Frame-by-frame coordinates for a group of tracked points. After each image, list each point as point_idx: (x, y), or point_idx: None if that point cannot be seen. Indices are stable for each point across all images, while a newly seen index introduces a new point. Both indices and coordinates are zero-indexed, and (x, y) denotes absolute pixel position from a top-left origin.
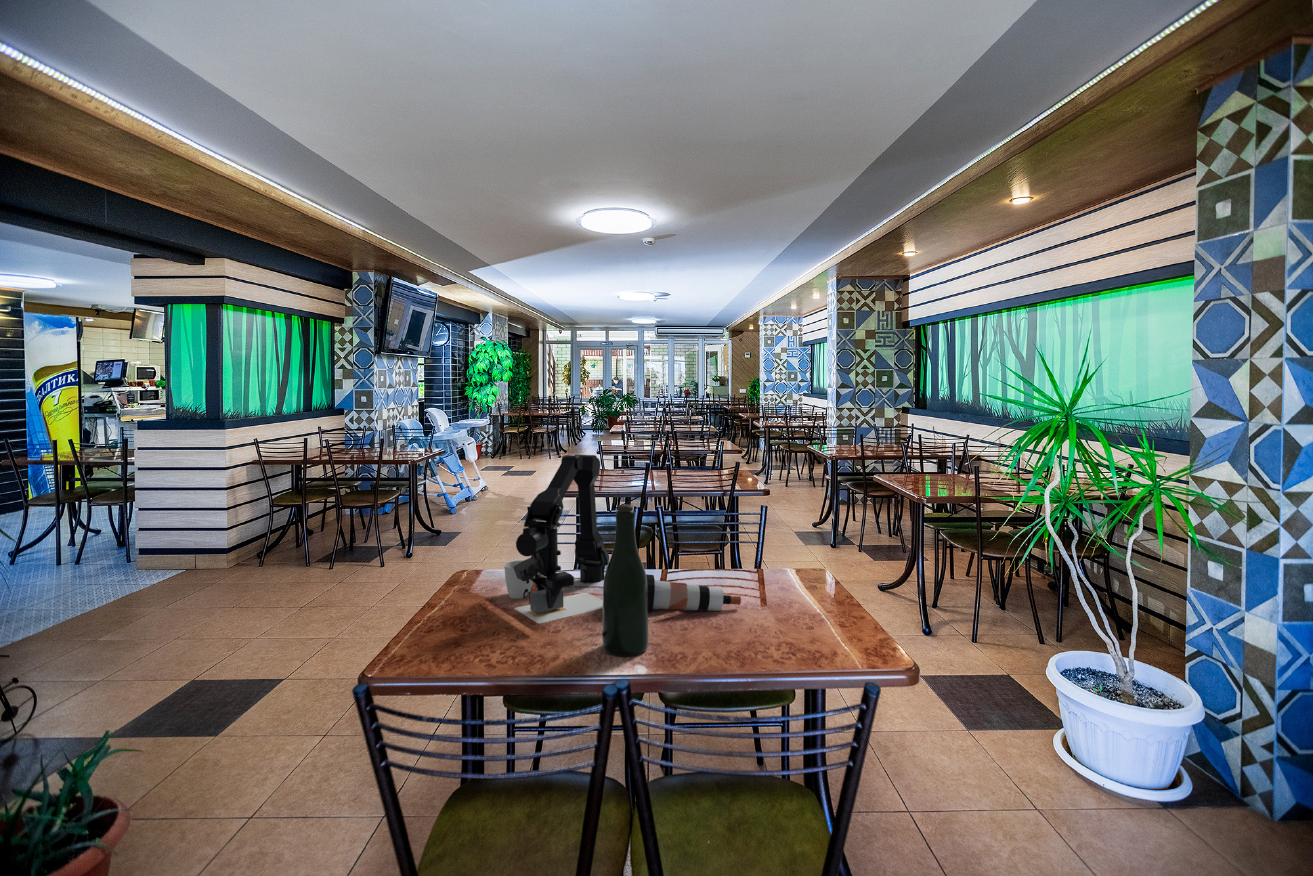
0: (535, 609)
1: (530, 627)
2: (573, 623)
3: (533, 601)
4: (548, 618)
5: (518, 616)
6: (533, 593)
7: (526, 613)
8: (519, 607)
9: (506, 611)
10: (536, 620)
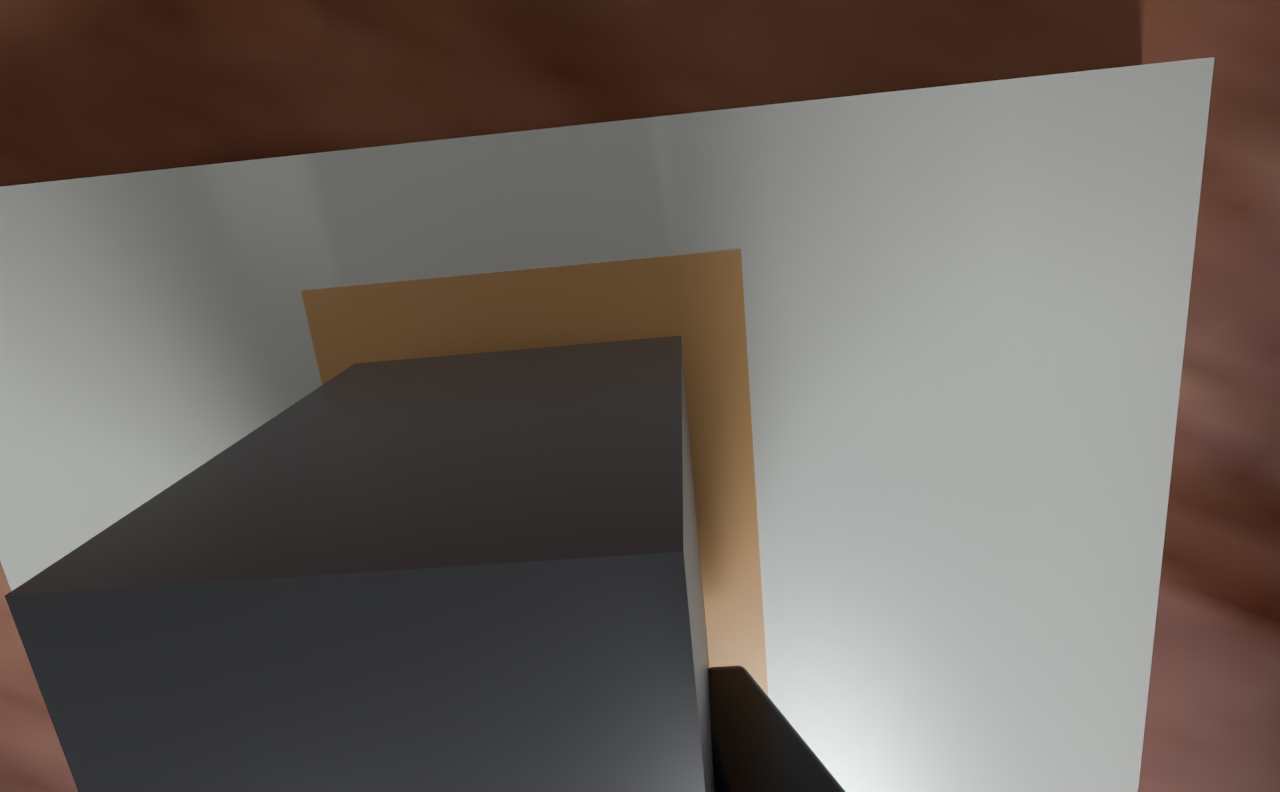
0: (371, 382)
1: (72, 66)
2: (25, 766)
3: (423, 442)
4: (114, 494)
5: (844, 77)
6: (453, 632)
7: (631, 203)
8: (1154, 210)
9: None
10: (70, 232)
